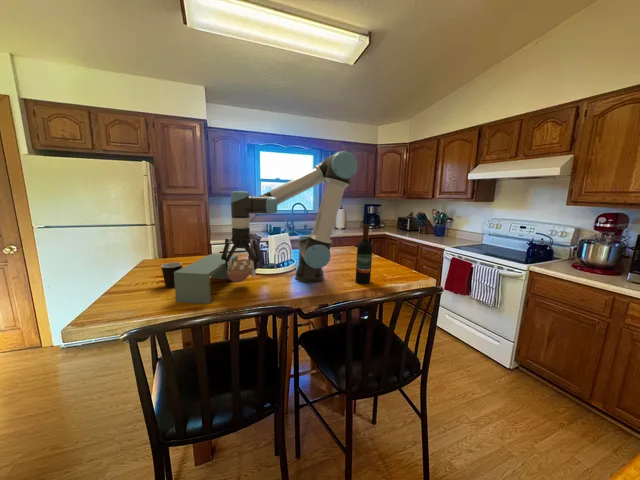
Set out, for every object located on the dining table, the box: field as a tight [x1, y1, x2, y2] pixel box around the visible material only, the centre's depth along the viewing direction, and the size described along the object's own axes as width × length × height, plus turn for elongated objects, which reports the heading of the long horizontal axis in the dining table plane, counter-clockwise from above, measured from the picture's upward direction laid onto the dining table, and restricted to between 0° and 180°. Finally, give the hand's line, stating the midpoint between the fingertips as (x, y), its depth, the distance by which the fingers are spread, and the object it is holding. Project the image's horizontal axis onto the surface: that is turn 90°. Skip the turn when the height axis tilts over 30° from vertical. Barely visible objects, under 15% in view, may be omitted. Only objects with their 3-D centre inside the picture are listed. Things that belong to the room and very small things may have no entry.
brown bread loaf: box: [227, 259, 253, 283], centre depth 122 cm, size 23×10×5 cm, turn 7°
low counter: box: [174, 253, 239, 305], centre depth 124 cm, size 14×31×12 cm, turn 175°
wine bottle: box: [354, 223, 374, 285], centre depth 137 cm, size 8×8×30 cm
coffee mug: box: [160, 262, 183, 289], centre depth 128 cm, size 12×9×10 cm
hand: (241, 275), depth 122 cm, fingers closed on brown bread loaf, 10 cm apart
